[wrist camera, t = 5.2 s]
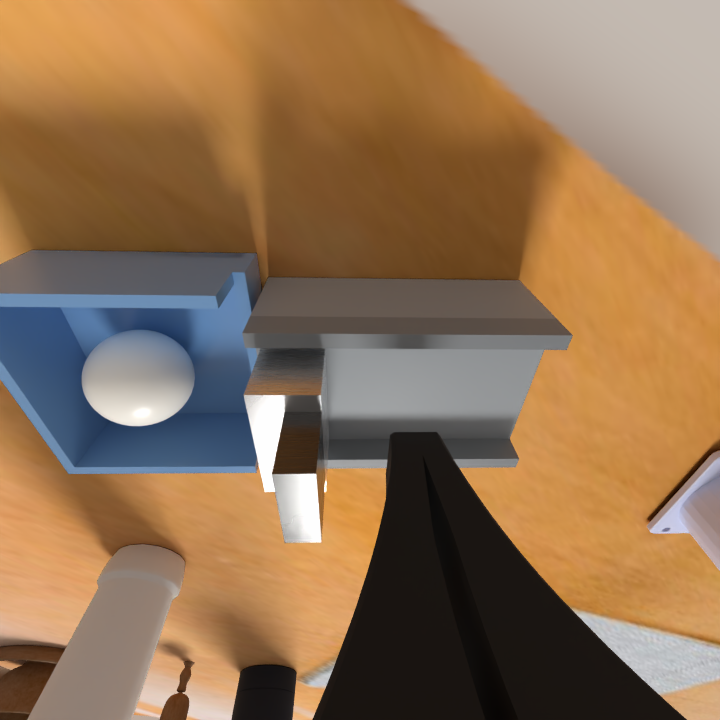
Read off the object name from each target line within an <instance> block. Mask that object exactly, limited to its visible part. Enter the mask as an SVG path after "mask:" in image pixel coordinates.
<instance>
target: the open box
mask: <svg viewBox="0 0 720 720" xmlns="http://www.w3.org/2000/svg"><path fill="white" fill-rule="evenodd" d="M261 292H262V286H261V279H260V273H259V266H258V259H257V253H207V252H139V251H71V250H30V251H28V252H26V253H24V254H22V255H20V256H17V257H15V258H13V259H11V260H9V261H6V262H4V263H2V264H0V380H1V381H2V382H3V384H4V385H5V386H6V388H7V389H8V391H9V392H10V393H11V395H12V396H13V398H14V399H15V400H16V402H17V403H18V404H19V406H20V407H21V409H22V410H23V411H24V413H25V414H26V416H27V417H28V418H29V420H30V421H31V422H32V424H33V425H34V427H35V428H36V429H37V431H38V432H39V434H40V435H41V436H42V438H43V439H44V441H45V442H46V443H47V445H48V446H49V447H50V449H51V450H52V452H53V453H54V454H55V456H56V457H57V459H58V460H59V461H60V463H61V464H62V465H63V467H64V468H65V470H66V471H67V472H68V474H129V473H257V469H258V465H259V463H258V458H257V454H256V449H255V445H254V440H253V436H252V431H251V427H250V422H249V418H248V413H247V409H246V404H245V399H244V392H245V390H246V387H247V384H248V381H249V379H250V376H251V373H252V370H253V368H254V365H255V362H256V359H257V352H256V348H245V345H244V340H243V335H242V332H243V330H244V328H245V326H246V324H247V322H248V320H249V317H250V315H251V313H252V311H253V309H254V307H255V305H256V302H257V300H258V298H259V296H260V294H261ZM130 330H150V331H155V332H159V333H162V334H164V335H166V336H168V337H170V338H172V339H174V340H175V341H176V342H178V343H179V344H180V345H181V346H182V347H183V348H184V349H185V351H186V352H187V353H188V355H189V356H190V358H191V361H192V363H193V367H194V372H195V381H194V387H193V390H192V393H191V395H190V397H189V399H188V400H187V402H186V403H185V405H184V406H183V407H182V408H181V409H180V410H179V411H178V412H177V413H175V414H174V415H173V416H171V417H169V418H168V419H166V420H164V421H161V422H159V423H155V424H152V425H146V426H127V425H122V424H118V423H115V422H113V421H110V420H108V419H106V418H104V417H103V416H101V415H100V414H99V413H98V412H97V411H95V410H94V409H93V408H92V406H91V405H90V404H89V402H88V401H87V399H86V397H85V395H84V392H83V388H82V370H83V367H84V364H85V361H86V359H87V358H88V356H89V354H90V353H91V352H92V350H93V349H94V348H95V347H96V346H97V345H98V344H100V343H101V342H102V341H104V340H105V339H107V338H109V337H110V336H113V335H115V334H117V333H121V332H124V331H130Z"/></svg>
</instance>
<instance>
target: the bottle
mask: <svg viewBox="0 0 720 720" xmlns="http://www.w3.org/2000/svg"><path fill="white" fill-rule="evenodd" d="M184 571H185V561H184V560H183V559H182V557H181V556H180V555H178V554H176V553H175V552H173V551H171V550H169V549H166V548H162V547H159V546H154V545H146V544H138V545H128V546H125V547H123V548H120V549H119V550H118V551H117V552H116V553H115V554H114V555H113V557H112V558H111V559H110V560H109V561H108V563H107V564H106V566H105V567H104V569H103V571H102V572H101V574H100V576H99V578H98V580H97V583H98V589H97V591H96V593H95V595H94V597H93V599H92V601H91V602H90V604H89V606H88V608H87V610H86V612H85V614H84V615H83V617H82V619H81V621H80V623H79V625H78V626H77V628H76V630H75V632H74V634H73V636H72V638H71V639H70V641H69V643H68V645H67V647H66V649H65V651H64V652H63V654H62V656H61V658H60V660H59V662H58V663H57V665H56V667H55V669H54V671H53V673H52V675H51V676H50V678H49V680H48V682H47V684H46V686H45V688H44V689H43V691H42V693H41V695H40V697H39V699H38V700H37V702H36V704H35V706H34V708H33V710H32V712H31V713H30V715H29V717H28V719H27V720H132V718H133V715H134V712H135V709H136V706H137V703H138V700H139V697H140V694H141V691H142V688H143V685H144V682H145V679H146V676H147V673H148V670H149V667H150V665H151V662H152V659H153V656H154V653H155V650H156V647H157V644H158V641H159V638H160V635H161V632H162V629H163V626H164V623H165V620H166V617H167V614H168V611H169V608H170V605H171V602H172V600H173V599H174V598H176V597H177V596H178V595H179V592H180V589H181V586H182V582H183V578H184Z"/></svg>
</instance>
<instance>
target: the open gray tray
mask: <svg viewBox="0 0 720 720" xmlns="http://www.w3.org/2000/svg"><path fill="white" fill-rule="evenodd" d="M242 335H243V340H244V345H245V348H256V352H257V357H258V354H259V351H260V348H326V367H327V393H328V419H329V448H328V465H327V468H387V459H388V449H389V439H390V434H392V433H394V432H437V433H438V434H439V435H440V436H441V438H442V440H443V442H444V444H445V445H446V447H447V449H448V451H449V452H450V454H451V456H452V457H453V459H454V461H455V462H456V464H457V465H458V467H459V468H478V467H516V465H517V463H518V460H519V458H518V455H517V453H516V451H515V449H514V447H513V445H512V443H511V441H510V436H511V434H512V431H513V429H514V426H515V424H516V421H517V418H518V416H519V413H520V411H521V408H522V406H523V403H524V401H525V398H526V395H527V393H528V390H529V388H530V385H531V383H532V380H533V378H534V375H535V372H536V370H537V367H538V365H539V362H540V360H541V357H542V355H543V352H544V350H567V348H568V345H569V343H570V341H571V339H572V336H573V335H572V334H571V333H570V332H569V331H568V330H567V329H566V328H565V327H564V326H563V325H562V324H561V323H560V322H559V321H558V320H557V319H556V318H555V317H554V316H553V315H552V314H551V312H550V311H549V310H548V309H547V308H546V307H545V306H544V305H543V304H542V303H541V302H540V301H539V300H538V299H537V298H536V297H535V296H534V295H533V294H532V293H531V292H530V291H529V290H528V289H527V288H526V287H525V286H524V285H523V284H522V283H521V281H520V280H455V279H374V278H293V277H268V279H267V281H266V283H265V285H264V287H263V290H262V292H261V294H260V296H259V298H258V300H257V302H256V305H255V307H254V309H253V311H252V313H251V315H250V317H249V320H248V322H247V324H246V326H245V328H244V330H243V332H242Z"/></svg>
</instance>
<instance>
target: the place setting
mask: <svg viewBox="0 0 720 720" xmlns="http://www.w3.org/2000/svg"><path fill="white" fill-rule="evenodd" d="M64 651H65V649H61V648H55V647H46V646H33V645H16V646H5V647H0V661H4V660H27V661H26V663H25V664H24V665H22V666H20V667H17V668H15V669H13V670H9V669H6V668H4V667H1V666H0V720H27V719H28V717H29V715H30V713H31V712H32V710H33V708H34V706H35V704H36V702H37V700H38V699H39V697H40V695H41V693H42V691H43V689H44V688H45V686H46V684H47V682H48V680H49V678H50V676H51V675H52V673H53V671H54V669H55V667H56V665H57V663H58V662H59V660H60V658H61V656H62V654H63V652H64ZM193 664H194V662H192V661H185V662H184V665H185V668H184V670H183V671H182V673H181V675H180V684H179V686H178V689H177V692H179V693H177V694H174V695H172V696H171V697H170V698H169V699H168V700H167V702H166V704H165V706H164V708H163V711H162V714H161V717H160V720H186V718H187V713H188V709H189V698H188V697H187V696H186V695H185V694H183V693H182V692H185V691H186V685H187V682H188V681H189V679H190V677H191V669H190V668H191V666H192V665H193Z"/></svg>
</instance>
